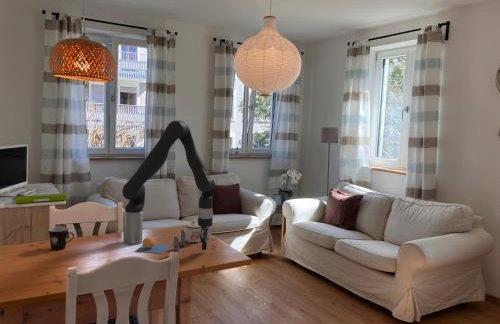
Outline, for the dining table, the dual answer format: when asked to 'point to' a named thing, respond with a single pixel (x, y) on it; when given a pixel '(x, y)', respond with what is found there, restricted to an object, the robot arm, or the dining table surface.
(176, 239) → the post
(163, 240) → the dining table surface
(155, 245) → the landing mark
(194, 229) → the teacup with lid
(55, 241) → the coffee mug
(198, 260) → the dining table surface
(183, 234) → the post
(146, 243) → the ball
